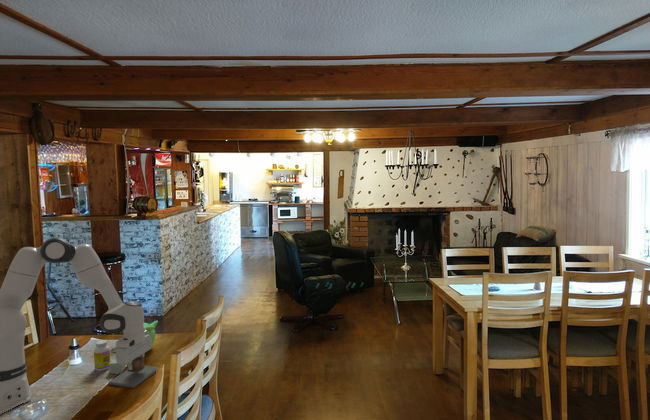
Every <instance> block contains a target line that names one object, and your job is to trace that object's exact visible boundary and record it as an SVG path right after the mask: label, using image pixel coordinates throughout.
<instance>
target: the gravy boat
mask: <svg viewBox="0 0 650 420" xmlns="http://www.w3.org/2000/svg"><path fill="white" fill-rule="evenodd" d="M158 323H159V321H158V320H154V321H153V322H151V323H148V322H144V323H143V325H144V328H145V331H146V330H147V331H149V332H150V336H151V340H152V344H154V341H155V338H156V330H155V329H156V327H157V325H158Z"/></svg>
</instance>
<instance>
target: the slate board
mask: <svg viewBox="0 0 650 420" xmlns="http://www.w3.org/2000/svg"><path fill="white" fill-rule="evenodd" d="M144 367H145V368H144V369H142V370H141V371H139V372H138V373H136V372H128V369H125V370H124V371H122V372H121V373H120V374H117V376H115V377H114V378H112V379H111V380H109V381H108V385H110V386H116V387H124V388H125V387H126V388H133V389H135V388H136V387H137V386H139V385H140V384H142V383H143V382H145V381H146V380H147V379H149V378H150V377H151V376H153V375H154V374H155V372H156V369H157V368H158V367H159V366H152V365H144ZM156 373H157V372H156Z"/></svg>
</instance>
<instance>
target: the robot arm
mask: <svg viewBox="0 0 650 420" xmlns="http://www.w3.org/2000/svg"><path fill="white" fill-rule="evenodd" d="M47 263H50V264H62V263H69V265H70V266H71V267H72V270H73V271H74V274H75V276H76V278H77V279H78V281H79V283H80V284H81V285H82V287H85V288H88V289H93V290H96V291H98V292H99V294H100V295H101V296H102V299H103V300H104V302H105V304H106V305H107V307H108V309H107V311H106V312H105V313H103V315H102V316H101V317H100V319H99V327H100V329H101V330H102V331H103V332H105V333H106V334H113V333H118V332H121V331H122V332H123V334H122V335H121V336H120V338H119V339H117V341H116V342H115V347H116V350H115V351H116V352H115V359H116V361H117V364H118V365H125V366H127V370H128V369H129V370H132V369H134V365H132V364H131V363H132V360H134V359H135V358H137V357H144V358H145V353H146V352H148V351H150V350H152V348H153V343H152V340H151V336H150V332H149V331H147V330H146V331H145V328H144V325H143V323H145V313H144V308H143V305H142V303H140V302H138V301H137V300H129V301H124V300H123V299H122V298H121V295H120V294H119V293H118V290H117V288H116V286H115V285H114V283H113V282H112V280H111V278H110V277H109V275H108V274H107V272H106V269H105V267H104V265H103V263H102V261H101V259H100V257H99V256H98V254H97V253H96V251H95V249H94V247H92V245H90V244H87V243H80V244H76V245H73V244H71V243H70V242H69V241H68V240H67V239H65V238H64V237H60V236H54V237H51V238H48V239H46V240H45V241H44V242H43V243H42V245H41V246H39V247H33V246H24V247H21V248H20V249H19V250H18V251H17V252H16V254H15V256H14V257H13V259H12V261H11V263H10V265H9V267H8V269H7V272H6V275H5V277H4V280H3V282H2V285H1V287H0V415H2V413H3V414H5V413H7V412H9V411H11V410H13V409H12V408H13V407H15V406H17V405H20V404H22V403H24V402H27V401H29V400H32V395H33V391H32V389H31V387H30V385H29V380H28V375H27V371H28V367H27V366H28V365H27V364H28V363H27V361H26V357H25V337H26V328H27V327H28V320H27V317H26V315H25V314H24V312H23V311H22V308H23V306H24V305H25V303H26V302H27V300H28V299H29V298H30V297H31V296H32V295H33V292H34V289H35V287H36V284H37V281H38V279H39V276H40V274H41V270H42V268H43V267H44V266H45V265H46V264H47ZM29 402H30V401H29ZM27 403H28V402H27ZM24 404H25V403H24ZM22 405H23V404H22ZM20 406H21V405H20ZM10 409H11V410H10ZM8 410H9V411H8ZM6 411H7V412H6ZM4 412H5V413H4Z"/></svg>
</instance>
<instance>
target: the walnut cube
mask: <svg viewBox="0 0 650 420" xmlns="http://www.w3.org/2000/svg"><path fill="white" fill-rule="evenodd" d="M131 364H132V365H134V369H132V370H129V369H128V368H127V370H128V372H136V373H138V372H139V371H141V370H142V369H144V368H145V367H144V366H145V356H144V357H137V358H135V359H134V360H132V363H131Z"/></svg>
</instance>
